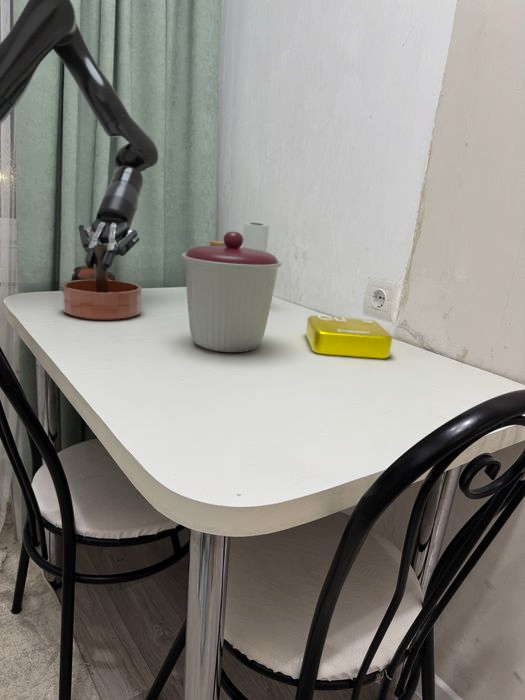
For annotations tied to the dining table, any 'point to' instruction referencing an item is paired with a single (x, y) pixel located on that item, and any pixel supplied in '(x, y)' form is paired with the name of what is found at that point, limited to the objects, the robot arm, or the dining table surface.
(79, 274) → the pottery mug
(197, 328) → the canister
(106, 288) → the stirring stick
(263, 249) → the paper towel roll
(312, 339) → the element tile
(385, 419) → the dining table surface
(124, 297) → the bowl
